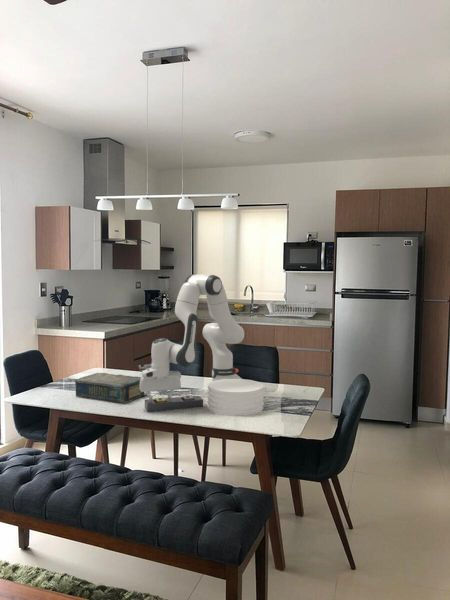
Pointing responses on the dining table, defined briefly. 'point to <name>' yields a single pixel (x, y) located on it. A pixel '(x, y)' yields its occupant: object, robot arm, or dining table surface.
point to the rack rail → (173, 404)
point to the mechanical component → (144, 367)
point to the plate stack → (235, 396)
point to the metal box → (109, 387)
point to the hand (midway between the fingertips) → (160, 399)
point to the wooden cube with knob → (160, 400)
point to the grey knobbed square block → (187, 398)
